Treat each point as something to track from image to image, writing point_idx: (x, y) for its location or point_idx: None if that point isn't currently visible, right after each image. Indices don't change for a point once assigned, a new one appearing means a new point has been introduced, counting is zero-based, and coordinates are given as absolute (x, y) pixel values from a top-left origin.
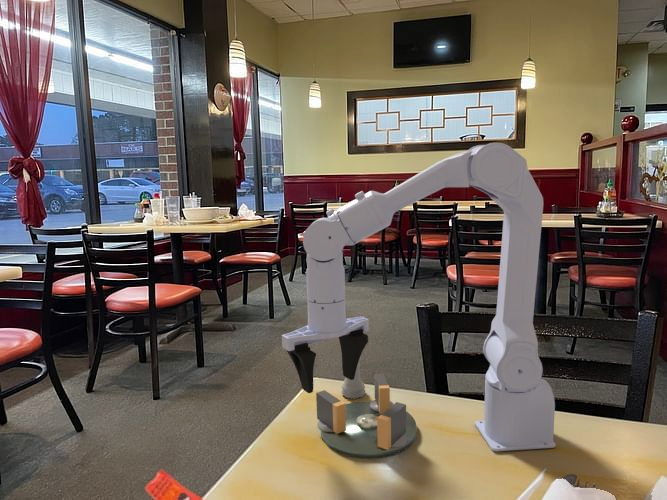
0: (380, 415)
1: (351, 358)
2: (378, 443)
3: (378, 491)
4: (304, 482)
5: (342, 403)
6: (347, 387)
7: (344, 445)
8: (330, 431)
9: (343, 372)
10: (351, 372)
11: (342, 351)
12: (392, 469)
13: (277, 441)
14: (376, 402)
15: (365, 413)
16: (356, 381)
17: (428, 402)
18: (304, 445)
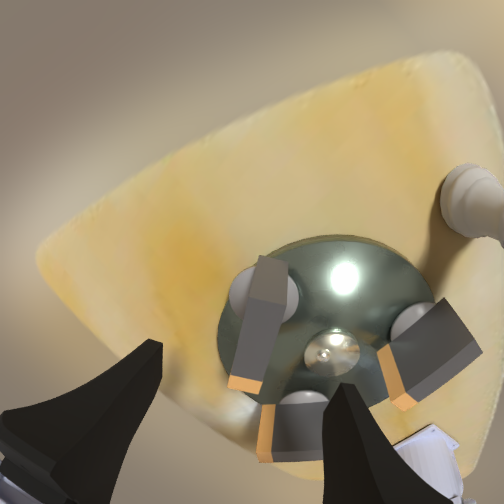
0: (268, 452)
1: (331, 481)
2: (262, 410)
3: (200, 416)
4: (127, 341)
5: (253, 389)
6: (457, 206)
7: (226, 360)
8: (240, 316)
9: (342, 392)
10: (323, 438)
11: (362, 461)
12: (252, 413)
13: (151, 213)
14: (421, 318)
15: (371, 319)
16: (480, 232)
17: (483, 347)
18: (186, 273)
